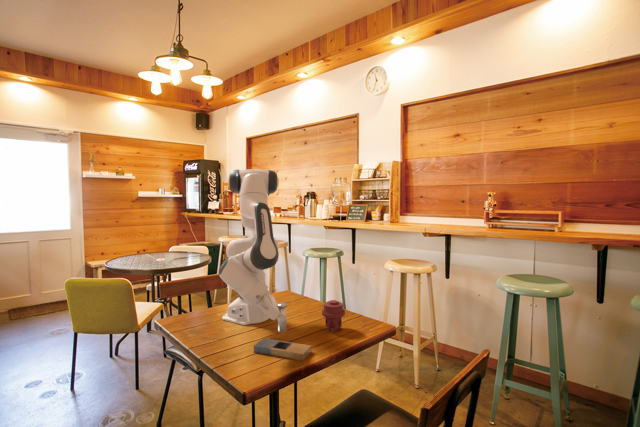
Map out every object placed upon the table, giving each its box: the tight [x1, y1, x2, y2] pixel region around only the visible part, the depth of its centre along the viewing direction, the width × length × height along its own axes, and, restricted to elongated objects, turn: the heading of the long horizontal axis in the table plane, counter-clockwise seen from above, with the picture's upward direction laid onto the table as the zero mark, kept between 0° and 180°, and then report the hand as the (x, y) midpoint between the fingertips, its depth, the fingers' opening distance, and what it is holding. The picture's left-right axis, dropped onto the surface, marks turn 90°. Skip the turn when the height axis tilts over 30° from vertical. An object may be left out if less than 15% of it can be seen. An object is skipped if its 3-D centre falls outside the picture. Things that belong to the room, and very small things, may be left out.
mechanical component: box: [321, 299, 346, 333], centre depth 145 cm, size 12×10×10 cm
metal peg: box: [276, 301, 288, 333], centre depth 123 cm, size 4×4×10 cm
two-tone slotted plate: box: [253, 337, 312, 362], centre depth 124 cm, size 20×7×2 cm, turn 69°
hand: (283, 317), depth 123 cm, fingers closed on metal peg, 3 cm apart
